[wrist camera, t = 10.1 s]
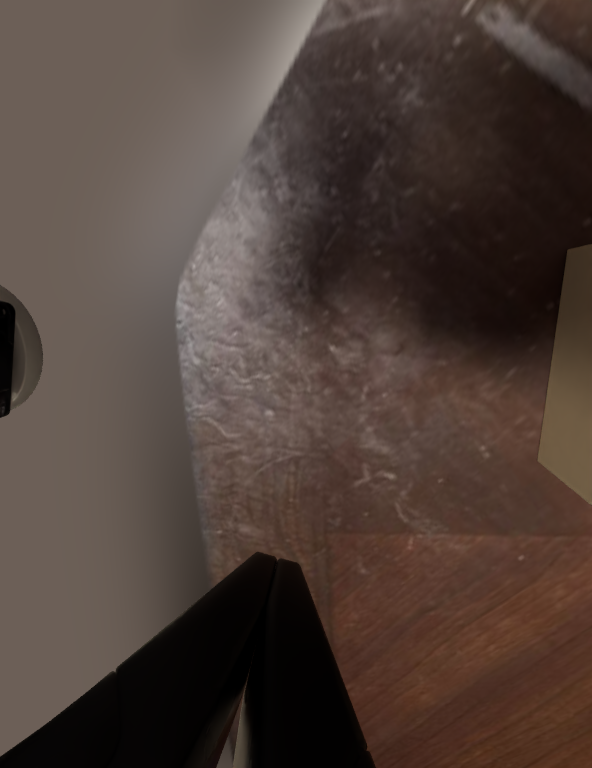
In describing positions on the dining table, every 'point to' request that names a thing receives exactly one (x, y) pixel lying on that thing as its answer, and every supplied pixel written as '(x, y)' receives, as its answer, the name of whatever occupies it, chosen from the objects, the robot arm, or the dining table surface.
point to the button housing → (571, 381)
